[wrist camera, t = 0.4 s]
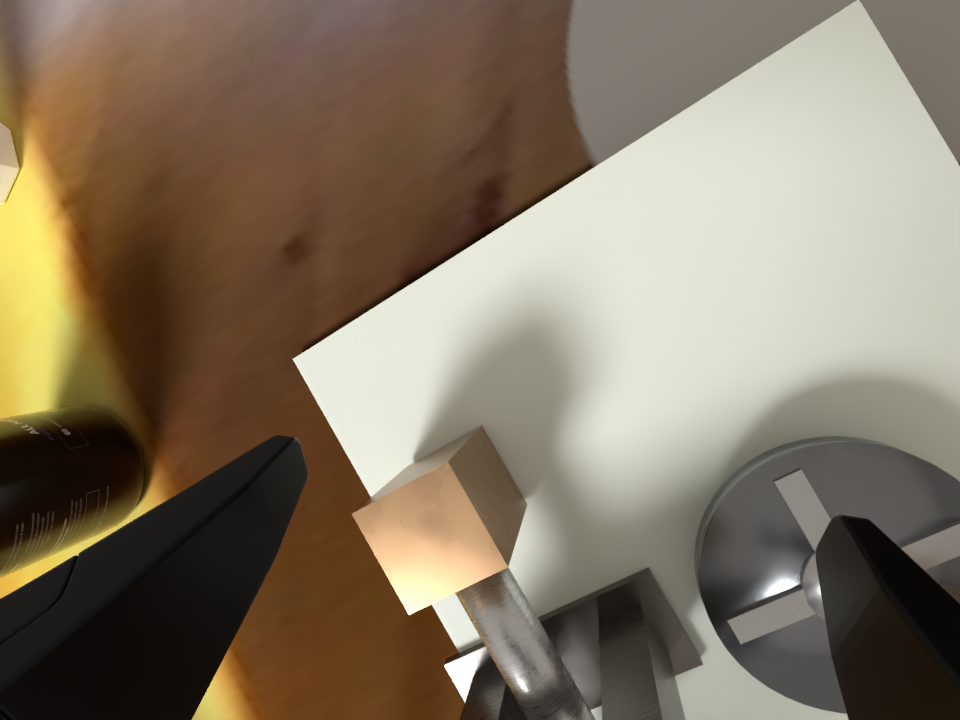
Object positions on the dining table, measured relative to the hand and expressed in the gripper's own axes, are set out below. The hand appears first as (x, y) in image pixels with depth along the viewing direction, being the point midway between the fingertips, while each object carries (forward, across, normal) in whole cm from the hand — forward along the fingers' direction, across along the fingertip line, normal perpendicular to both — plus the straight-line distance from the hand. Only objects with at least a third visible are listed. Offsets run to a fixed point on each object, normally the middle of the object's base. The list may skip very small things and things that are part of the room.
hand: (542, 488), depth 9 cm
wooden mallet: (+8, +1, +15) cm, 17 cm away
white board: (+11, -7, +11) cm, 17 cm away
